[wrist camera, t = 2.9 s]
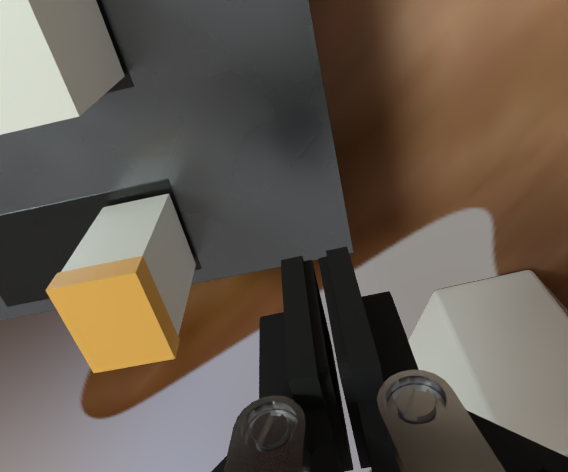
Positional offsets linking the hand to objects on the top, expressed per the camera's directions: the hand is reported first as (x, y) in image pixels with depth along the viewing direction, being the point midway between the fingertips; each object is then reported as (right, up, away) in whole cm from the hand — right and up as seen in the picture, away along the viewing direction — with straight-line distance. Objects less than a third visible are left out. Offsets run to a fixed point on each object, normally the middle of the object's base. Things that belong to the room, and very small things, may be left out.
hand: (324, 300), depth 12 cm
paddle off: (-7, +7, +2) cm, 11 cm away
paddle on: (-6, +2, +5) cm, 8 cm away
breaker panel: (-9, +5, +7) cm, 13 cm away
